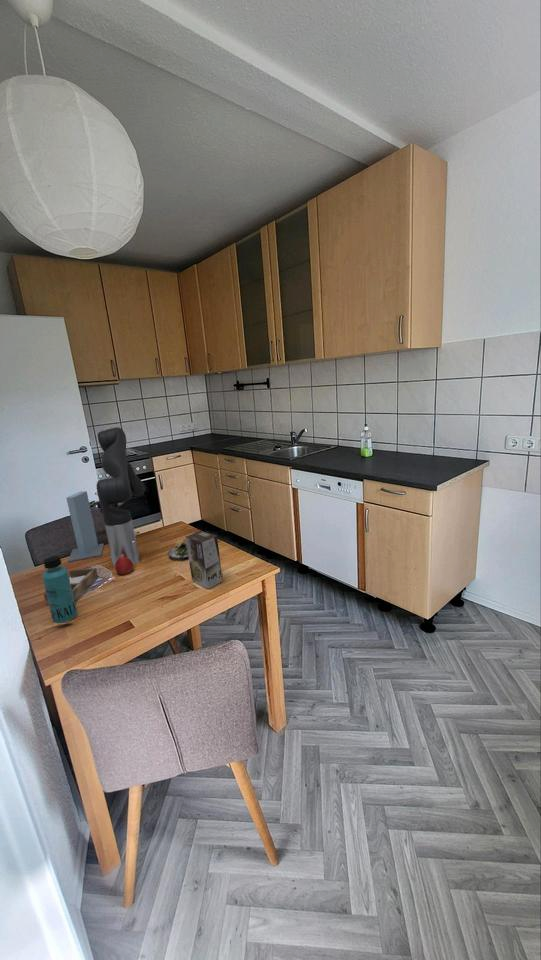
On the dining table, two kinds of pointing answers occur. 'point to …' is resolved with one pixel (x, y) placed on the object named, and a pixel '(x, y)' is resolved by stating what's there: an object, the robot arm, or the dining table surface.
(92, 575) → the rack
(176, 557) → the burger
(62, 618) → the beverage bottle
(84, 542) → the board
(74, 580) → the offcut
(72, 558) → the mat
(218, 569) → the coffee box
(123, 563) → the pomegranate
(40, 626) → the dining table surface
